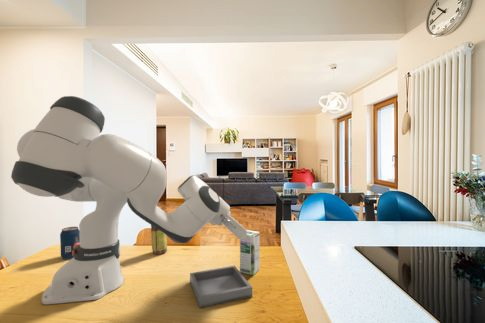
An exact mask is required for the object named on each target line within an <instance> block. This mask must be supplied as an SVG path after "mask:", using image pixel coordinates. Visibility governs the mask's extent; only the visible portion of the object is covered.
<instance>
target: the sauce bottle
mask: <svg viewBox="0 0 485 323" xmlns="http://www.w3.org/2000/svg"><path fill="white" fill-rule="evenodd" d="M158 207H159V208H161V209H162V210H163V207H162V206H158ZM150 228H151V230H150V232H151V235H150V236H151V251H152V254H154V255H162V254H165V253H166V252H167V250H168V243H167V242H168V240H167V239H168V238H167V235H166V234H165V233H163V232H162V231H160V230H159V229H157V228H155V227H154V226H152V225H151V224H150Z"/></svg>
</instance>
